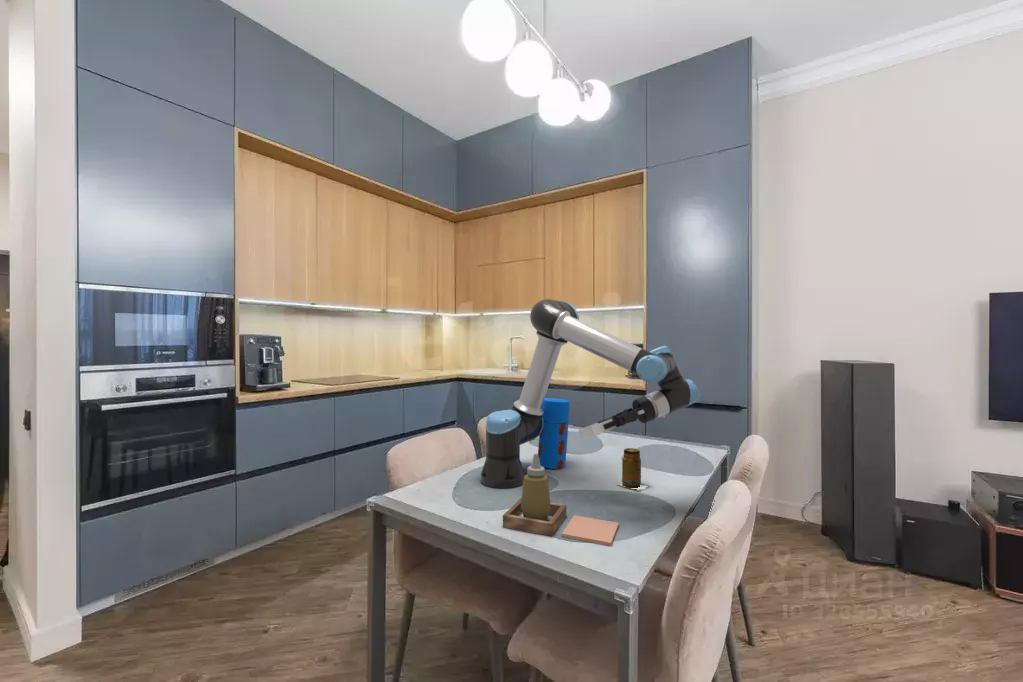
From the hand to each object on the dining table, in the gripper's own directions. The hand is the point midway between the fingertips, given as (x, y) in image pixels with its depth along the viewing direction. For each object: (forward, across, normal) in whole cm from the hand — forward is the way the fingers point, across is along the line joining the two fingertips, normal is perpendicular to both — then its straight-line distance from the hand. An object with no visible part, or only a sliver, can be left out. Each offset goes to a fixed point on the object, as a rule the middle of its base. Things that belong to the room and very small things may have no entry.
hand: (586, 432), depth 125 cm
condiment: (-14, +21, -23) cm, 34 cm away
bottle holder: (+23, -3, -16) cm, 28 cm away
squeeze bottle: (+23, -3, -16) cm, 28 cm away
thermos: (+6, +45, -8) cm, 46 cm away
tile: (+11, -10, -22) cm, 27 cm away
